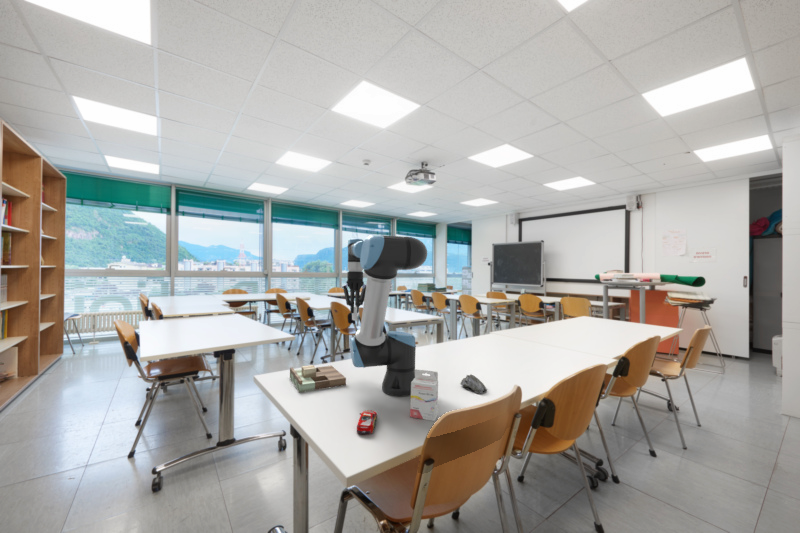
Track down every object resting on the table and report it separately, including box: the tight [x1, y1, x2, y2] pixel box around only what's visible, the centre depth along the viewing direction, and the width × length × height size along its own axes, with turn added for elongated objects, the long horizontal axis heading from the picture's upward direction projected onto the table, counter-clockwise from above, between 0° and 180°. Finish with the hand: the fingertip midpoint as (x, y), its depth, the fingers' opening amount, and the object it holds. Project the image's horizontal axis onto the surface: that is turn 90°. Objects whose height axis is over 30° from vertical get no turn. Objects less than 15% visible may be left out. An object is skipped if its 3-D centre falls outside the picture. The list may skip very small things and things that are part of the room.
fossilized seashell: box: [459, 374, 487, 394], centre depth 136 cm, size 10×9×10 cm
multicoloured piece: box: [289, 365, 347, 393], centre depth 142 cm, size 20×19×4 cm
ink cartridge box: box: [409, 368, 439, 422], centre depth 109 cm, size 9×5×15 cm, turn 73°
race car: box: [356, 409, 378, 435], centre depth 102 cm, size 13×5×4 cm, turn 176°
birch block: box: [301, 364, 316, 378], centre depth 140 cm, size 5×5×4 cm
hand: (354, 319), depth 158 cm, fingers closed
